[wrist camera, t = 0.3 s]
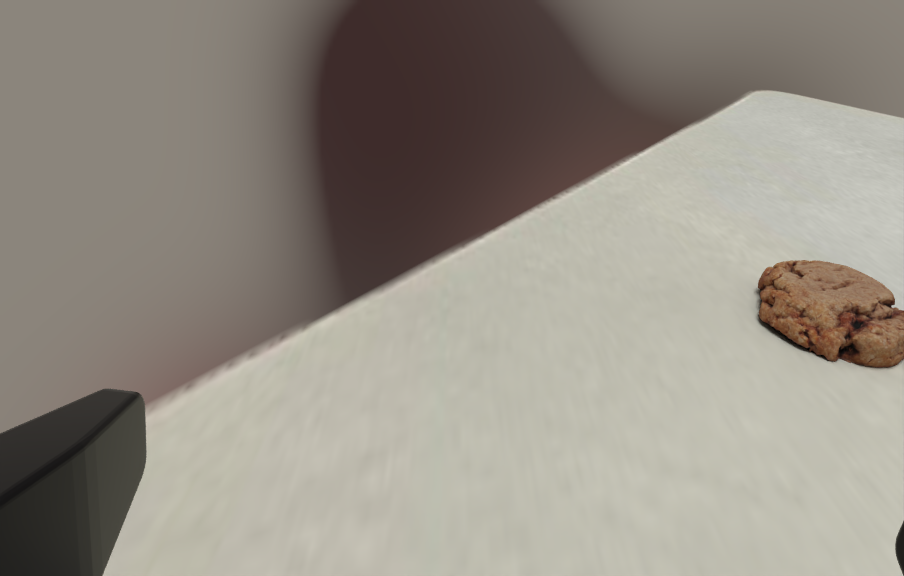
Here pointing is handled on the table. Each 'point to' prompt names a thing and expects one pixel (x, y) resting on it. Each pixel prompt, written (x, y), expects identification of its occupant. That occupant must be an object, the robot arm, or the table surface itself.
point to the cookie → (833, 312)
